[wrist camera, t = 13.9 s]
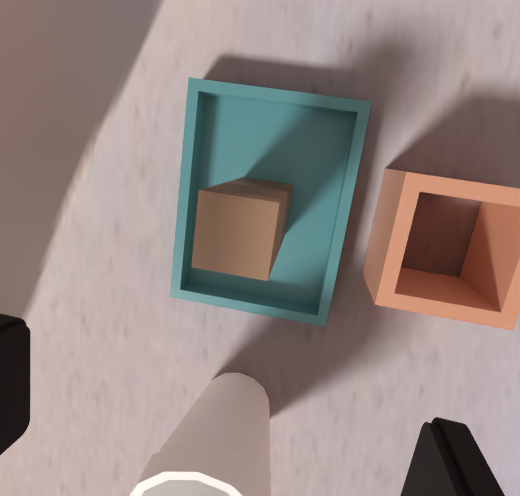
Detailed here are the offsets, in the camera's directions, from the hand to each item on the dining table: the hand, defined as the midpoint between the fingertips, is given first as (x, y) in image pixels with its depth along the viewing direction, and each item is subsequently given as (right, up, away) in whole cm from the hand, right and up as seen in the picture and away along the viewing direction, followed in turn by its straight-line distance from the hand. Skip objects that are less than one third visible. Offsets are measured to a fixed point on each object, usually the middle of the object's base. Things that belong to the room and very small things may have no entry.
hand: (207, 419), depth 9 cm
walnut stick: (+2, +7, +22) cm, 23 cm away
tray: (+2, +7, +22) cm, 23 cm away
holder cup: (+14, +5, +21) cm, 26 cm away
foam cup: (-1, -11, +27) cm, 29 cm away
